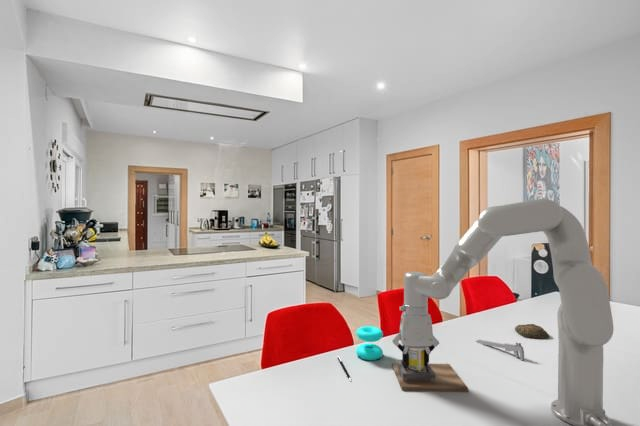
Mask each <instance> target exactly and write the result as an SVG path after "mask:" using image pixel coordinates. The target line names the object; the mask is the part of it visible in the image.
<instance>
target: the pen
mask: <svg viewBox="0 0 640 426" xmlns="http://www.w3.org/2000/svg"><path fill="white" fill-rule="evenodd" d="M336 357H337V360H338V362H339V364H340V366H341V368H342V370H343V371H344V374H345V373H346V374H345V375H347V376H346V378H347V379H348V380H349V381H350V382H352V377H351V376H350V374H349V372H348V369H347V368H346V367H345V365H344V362H343V360H342V359H341V357H340V356H339V355H337V356H336Z"/></svg>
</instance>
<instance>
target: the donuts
mask: <svg viewBox="0 0 640 426" xmlns="http://www.w3.org/2000/svg"><path fill="white" fill-rule="evenodd" d="M356 336H357V337H358V339H359V340H361V341H364V342H368V343H362V344H360V345H358V346H357V348H356V350H355V352H356V355H357V356H358V357H359V358H360V359H363V360H365V361H366V360H367V361H377V360H379V359H381V358H382V356H383V354H384V352H383V349H382V348H381V346H379V345H377V344H375V343H373V342H378V341H380V340H381V339H382V338H383V337H384V333H383V331H382V330H381V328H379V327H377V326H371V325H366V326H365V325H364V326H360V327H358V328H357V329H356Z"/></svg>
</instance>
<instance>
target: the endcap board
mask: <svg viewBox="0 0 640 426" xmlns="http://www.w3.org/2000/svg"><path fill="white" fill-rule="evenodd" d="M391 364H392V365H391V367H392V370H393V369H394V370H393V372H394V374H395V377H396V380H397V382H398V384H399V386H400V389H401V391H416V392H417V391H419V392H420V391H421V392H422V391H425V392H465V393H466V392H467V393H468V391H469V387H468V386H467V385H466V383H465V382H464V381H463V380H462V378H461V377H460V376H459V375H458V373H457V372H456V371H455V369H454V368H453V367H452V365H451V364H449V363H428V367H426V366H425V365H424V371H423V372H410V371H409V370H408V369H407V366H406V365H405V363H403V360H402V359H396V362H392V363H391Z"/></svg>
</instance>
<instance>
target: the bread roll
mask: <svg viewBox="0 0 640 426" xmlns="http://www.w3.org/2000/svg"><path fill="white" fill-rule="evenodd" d="M514 330H515V333H517V334H519V335H520V336H521V337H523V338H527V339H531V340H533V339H535V340H541V339H542V340H547V339H549V338H550V334H549V333H548V332H547V331H546V330H545V329H544V328H543V327H542V326H540V325H536V324H535V323H529V324H518V325H516V326H515V327H514Z"/></svg>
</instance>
